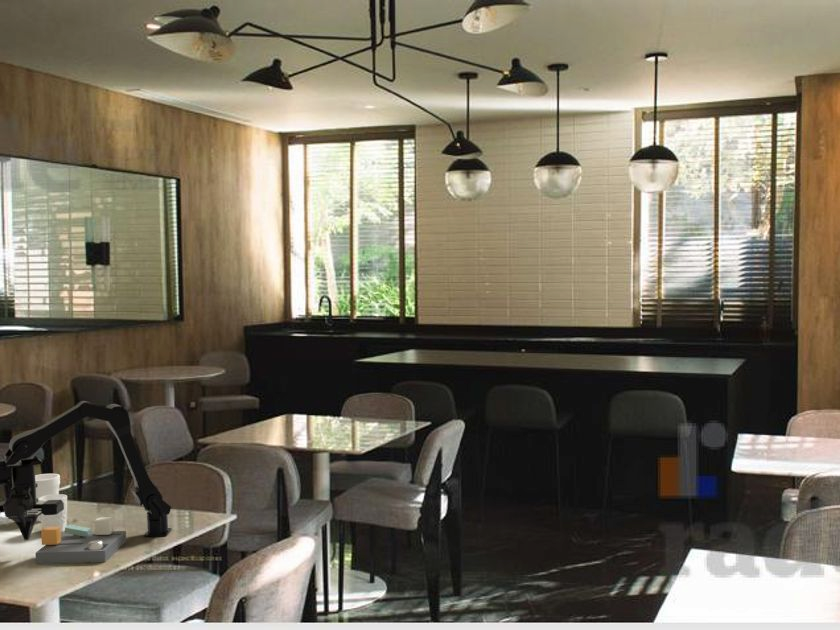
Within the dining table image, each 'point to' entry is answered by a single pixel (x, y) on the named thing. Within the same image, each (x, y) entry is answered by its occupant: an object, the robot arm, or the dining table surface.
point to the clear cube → (96, 545)
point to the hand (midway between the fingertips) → (26, 539)
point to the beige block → (104, 526)
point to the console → (80, 548)
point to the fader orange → (51, 535)
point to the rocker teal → (77, 530)
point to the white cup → (59, 518)
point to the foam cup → (47, 485)
